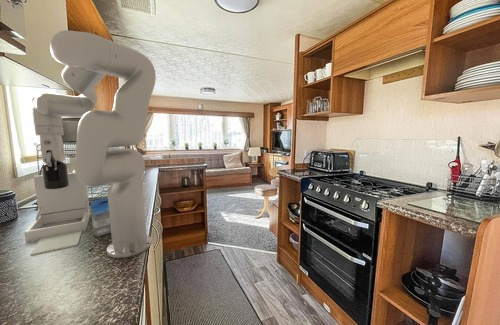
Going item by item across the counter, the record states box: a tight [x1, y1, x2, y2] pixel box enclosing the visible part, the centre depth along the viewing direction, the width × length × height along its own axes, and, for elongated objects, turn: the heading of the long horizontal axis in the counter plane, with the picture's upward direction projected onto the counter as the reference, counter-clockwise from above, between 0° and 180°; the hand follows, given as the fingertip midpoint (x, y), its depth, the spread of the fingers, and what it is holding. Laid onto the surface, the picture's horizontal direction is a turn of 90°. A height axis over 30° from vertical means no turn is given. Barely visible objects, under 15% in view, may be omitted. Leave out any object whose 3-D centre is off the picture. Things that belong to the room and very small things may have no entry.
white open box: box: [24, 172, 91, 243], centre depth 82 cm, size 18×16×20 cm
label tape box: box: [89, 197, 111, 238], centre depth 78 cm, size 9×4×12 cm, turn 143°
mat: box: [30, 231, 83, 257], centre depth 71 cm, size 11×11×1 cm
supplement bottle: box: [41, 160, 69, 189], centre depth 80 cm, size 7×7×12 cm
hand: (56, 178), depth 80 cm, fingers closed on supplement bottle, 6 cm apart
